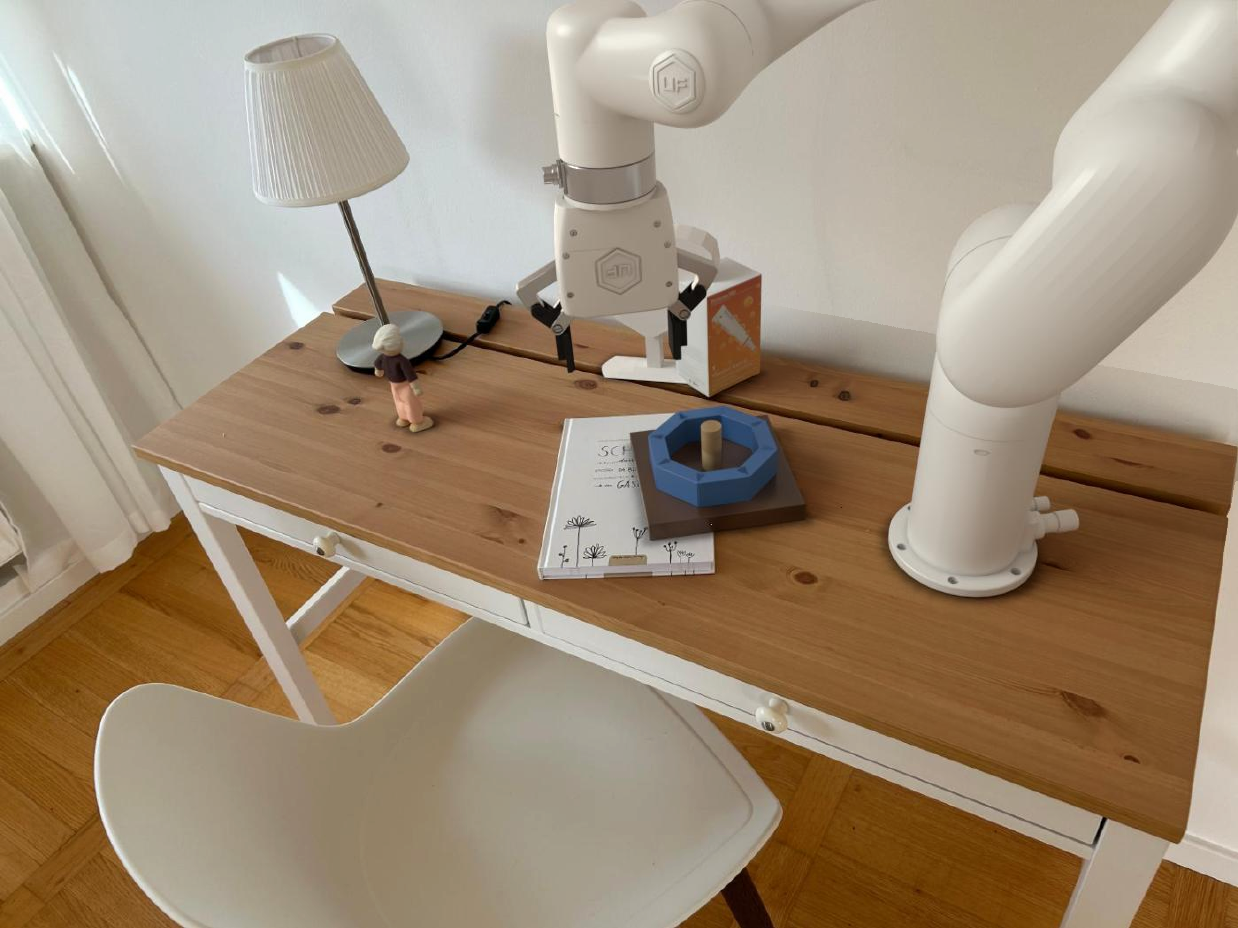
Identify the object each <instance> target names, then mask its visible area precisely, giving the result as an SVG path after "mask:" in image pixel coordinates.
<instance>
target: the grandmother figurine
mask: <svg viewBox="0 0 1238 928" xmlns="http://www.w3.org/2000/svg"><path fill="white" fill-rule="evenodd" d="M401 335H402V332H401V330H400V327H399V326H397V325H396V324H394V323H388V324H387V323H386V324H384V325H383V326H381V327H379V328H378V330H377V331H376V333H375V335H374V337H373V343H372V345H371V346H372V349H373V350H374V351H381V352H382V353H381V354H379V355H378V356H377V357H376V358H375V360H374V361H373V365H374V374H375V376H376V377H379V378H381V377H383V376H385V378H386V380H388V382H389V384H390V387H391V393H392V397H393V401H394V404H395V407H396V412H397V414H398V418H397V420H396V425H397V427H402V428H404V427H407V426H409V430H410V431H411V432H412V433H418V432H421V431H423V430H428V429H429V428H432V426H433V425H434V421H433V420H432V419H431V417H429V416H426V415H423V414H424V412H425V407H424V405H423V403H422V401H421V398H420V397H421V396H422V395H423V394H424V390H423V388H422V387H421V383H420V380H419V377H418V375H417V372H416V371H415V370H414V367H413V366H412V363H411V361H410V359H409V358H407V357H406V355H403V353H402V351H403V349H404V340H403V338H402V336H401Z"/></svg>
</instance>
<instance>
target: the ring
mask: <svg viewBox="0 0 1238 928" xmlns="http://www.w3.org/2000/svg"><path fill="white" fill-rule="evenodd" d="M754 416H755V415H752V414H749V413H746V412H743V411H741V410H737V409H735V408H732V407H730V406H727V405H719V406H718V405H717V406H711V407H704V408H695V409H687V410H679V411H676V412H675V413H674V414H673V415H671V416H670V417H669V418H667V419H666V420H665V421H664V422H663V423H661V424H660V426H659V425H658V427H657V428H655V429H656V430H655V429H654V430H655V431H653V432H652V433H651V434H650V435H649V436H648V440H649V453H650V462H651V466H652V470H653V475H654V479H655V484H656V488H657V489H658V490H660V491H662V492H665V493H667V494H669V495H671V496H674V497H676V498H678V499H681V500H683V501H685V502H687V503H690V504H692V505H694V506H697V507H707V506H714V505H721V504H729V503H736V502H744V501H749V500H751V499H752V498H753V497H754V496H755V495H756V494H757V493H758V492H759V491H760V490H761V489H762V488H763V487H764V486H765V485H766V484H767V483H768V482H769V481H770V480H771V479H772V477H773V476H774V475H775V474H776V473H777V447H776V444H775V442H774V440H773V437H772V435H771V432H770V430H769V428H768V425H767V423H766V421H765V420H763V419H760V418H757V417H754ZM708 420H715V421H718V422H720V423H721V425H722V438H723V439H726V440H729V441H731V442H734V443H736V444H739V445H742V446H744V447H747V448H749V449H751V450H752V453H753V455H752V456H751V457H750V458H749V459H748V460H747V461H746V462H745V463H744V464H743V465H741V466H740V467H738V468H730V469H723V470H716V471H708V472H699V471H696V470H694V469H692V468H689V467H687V466H684V465H682V464H679V463H677V462H675V461H672V460H670V457H671V456H672V455H673V454H674V453H675V452H676V451H678V450H679V449H680V448H681V447H682V446H683V445H684V444H685V443H687V442H693V441H701V425H702V423H703V422H705V421H708Z"/></svg>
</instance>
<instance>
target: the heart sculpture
mask: <svg viewBox="0 0 1238 928" xmlns="http://www.w3.org/2000/svg"><path fill="white" fill-rule="evenodd" d="M673 225H674V233H675V242H676V247H677V248H680V249H683V250H685V251H688V252H691V253H693V254H696V255H699V256H701V257H704V258H707V259H710V260H712V261H714V263H715V265H716V267H717V270H718V267H719V261H720V259H721V254H720V249H719V248H720V247H719V243H718V239H717V238H715V236H713V235H711V233H709V232H708V231H706V230H703V229H701V228H698V227H696V226H693V225H687V224H684V223H678V222H677V223H676V222H675V223H674V222H673ZM695 276H696V274H695V273H692V272H689V271H686V270H683V269H681V268H678V280H679V281H682V282H692V281H694V279H695ZM712 283H713V282H712ZM667 309H668V308H664V309H660V310H654V311H646V312H638V313H630V314H621V315H612V316H611V317H612V318H613V319H615V320H616V321H617V322H619V323H621V324H623V325H625V326H626V327H627V328H630V329H631V330H633V331H635V332H636V333H638V334H640V335H642V336H643V337H644V341H645V354H646V355H645V357H639V356H626V355H615V356H613V357H611V358H610V359H608V360H607V361H606V362H604V363H603V365H601V372H602V375H603V377H604V378H609V379H619V380H620V379H622V380H634V381H649V382H660V383H661V382H663V383H675V384H686V385H688V383H687V382H686V381H685V380H684V379H683V378H682V377H681V376H679V375H678V374H677V373H676V360H675V359H669V358H668V359H667V358H665V355H664V354H665V353H664V339H663V333H666V332H668V315H667Z"/></svg>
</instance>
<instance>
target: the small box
mask: <svg viewBox="0 0 1238 928" xmlns="http://www.w3.org/2000/svg"><path fill="white" fill-rule="evenodd" d="M762 281H763V276H762V273H761V272H758V271H756V270H755V269H752V268H750V267H748V266H746V265H745V264H742V263H740V262H738V261H736V260H734V259H731V258H730V257H728V256H725V257H723V258H720V261H719V267H718V272H717V274H716V276H715V278H714V280H713V283H712V284H711V286H710V288H708V290H707V295H706V297H705V298H704V299H703V300H702V301H701V302H700V303H699V304H698V305H697V307H696V308H695V309H694V310H693V311H692V312H691V316H690V318H689V319H687V346H682V347H681V360H676V373H677V374H678V375H679V376H681V377H682V378H683V379H684V380H685V381H686V382H687V383H688V384H687V383H686V384H687V385H688V386H690V387H692V388H693V389H695V390H696V391H698V392H700V393H701V394H703V395H705V396H706V397H707V398H711V397H713V396H714V395H717V394H719V393H721V392H722V391H724V390H727V389H728V388H731V387H732V386H735V385H736V384H739V383H741V382H743V381H745V380H747V379H749V378H751V377H753V376H756V375H758V374H760V372H761V338H762V337H761V335H762V334H761V333H762V329H761V328H762V322H761V321H762V285H763V284H762ZM690 283H691V282H682V281H679V291H680V292H681V293H682V292H683V291H684V290H685V288H686V287H687V286H688V285H689V284H690Z"/></svg>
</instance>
